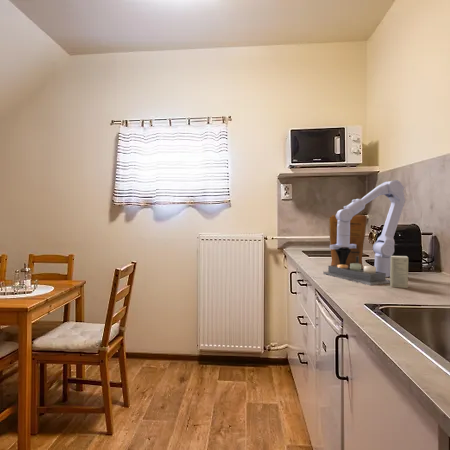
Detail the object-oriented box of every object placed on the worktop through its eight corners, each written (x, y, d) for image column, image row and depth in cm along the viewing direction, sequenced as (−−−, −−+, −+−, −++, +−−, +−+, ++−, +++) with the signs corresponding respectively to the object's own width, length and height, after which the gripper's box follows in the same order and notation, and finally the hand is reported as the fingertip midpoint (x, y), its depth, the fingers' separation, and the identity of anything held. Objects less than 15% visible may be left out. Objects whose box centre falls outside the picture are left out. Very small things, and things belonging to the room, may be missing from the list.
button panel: (342, 272, 178) (342, 264, 178) (391, 283, 153) (391, 273, 153) (323, 273, 173) (323, 265, 173) (370, 285, 148) (370, 275, 148)
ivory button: (369, 273, 159) (369, 265, 159) (378, 275, 155) (378, 267, 155) (361, 273, 157) (361, 265, 157) (369, 275, 153) (370, 267, 153)
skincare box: (406, 286, 147) (407, 256, 147) (408, 288, 143) (409, 257, 143) (389, 284, 149) (390, 255, 149) (390, 287, 145) (391, 256, 145)
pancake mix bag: (365, 269, 190) (366, 214, 189) (327, 266, 197) (328, 214, 196) (365, 267, 196) (367, 214, 195) (329, 264, 204) (330, 214, 202)
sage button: (355, 270, 166) (355, 262, 166) (363, 271, 162) (363, 264, 162) (347, 270, 164) (347, 263, 164) (355, 272, 160) (355, 264, 160)
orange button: (342, 271, 174) (342, 264, 173) (350, 273, 169) (350, 265, 169) (334, 272, 172) (334, 264, 171) (342, 273, 167) (342, 266, 167)
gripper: (348, 234, 176) (348, 262, 177) (325, 234, 170) (324, 264, 171) (360, 235, 170) (359, 264, 171) (336, 235, 164) (335, 266, 164)
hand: (342, 264), depth 170 cm, fingers closed
